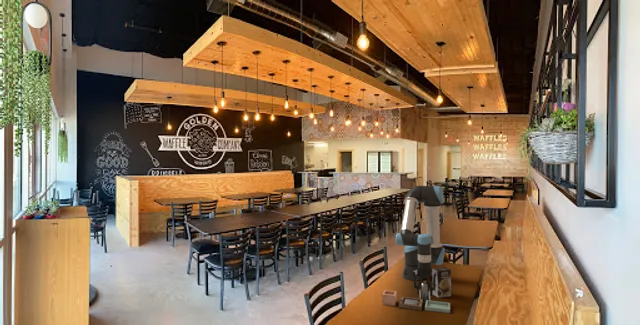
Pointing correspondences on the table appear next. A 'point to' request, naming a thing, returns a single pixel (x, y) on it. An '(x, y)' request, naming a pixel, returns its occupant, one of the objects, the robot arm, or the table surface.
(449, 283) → the coffee box
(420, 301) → the base
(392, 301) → the pink open box
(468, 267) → the table surface
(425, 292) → the cell
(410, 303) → the pale grey square tile
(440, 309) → the tray
